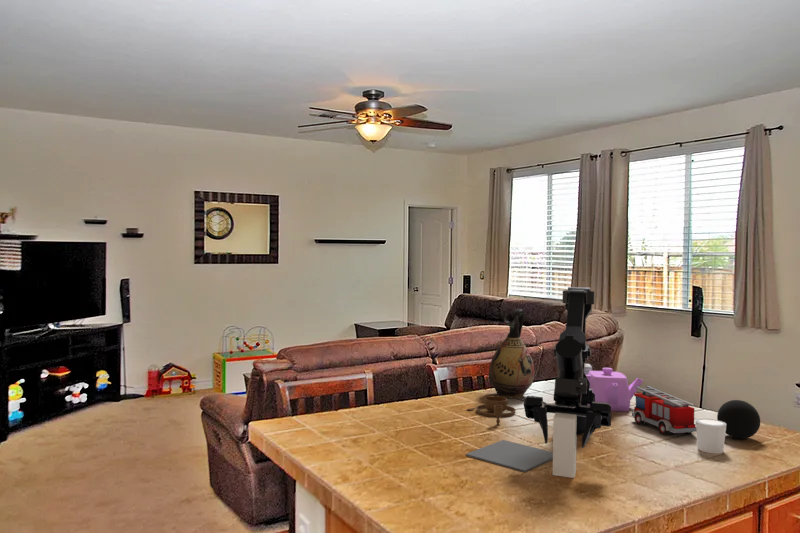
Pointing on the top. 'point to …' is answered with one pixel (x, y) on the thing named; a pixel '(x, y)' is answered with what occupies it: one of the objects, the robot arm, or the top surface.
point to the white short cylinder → (710, 435)
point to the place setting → (495, 408)
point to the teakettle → (612, 388)
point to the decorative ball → (739, 419)
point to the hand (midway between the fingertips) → (564, 444)
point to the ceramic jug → (512, 361)
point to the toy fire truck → (663, 412)
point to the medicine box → (588, 368)
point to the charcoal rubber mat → (512, 455)
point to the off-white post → (564, 444)
